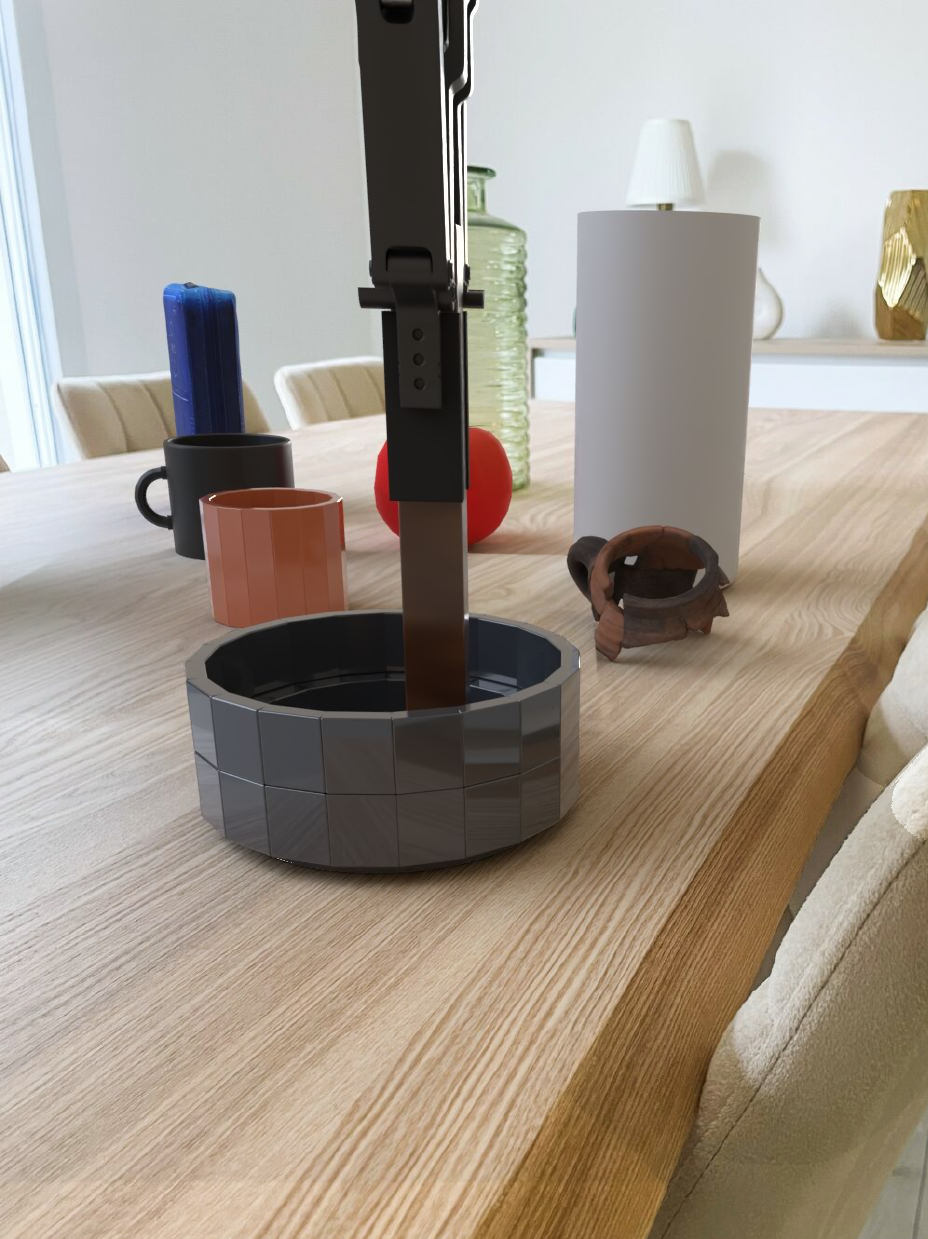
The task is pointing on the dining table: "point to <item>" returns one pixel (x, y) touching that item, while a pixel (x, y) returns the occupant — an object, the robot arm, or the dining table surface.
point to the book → (204, 359)
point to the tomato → (483, 496)
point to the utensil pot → (273, 554)
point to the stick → (437, 581)
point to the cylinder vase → (664, 373)
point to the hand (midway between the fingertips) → (431, 492)
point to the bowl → (381, 742)
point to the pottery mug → (648, 586)
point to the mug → (212, 478)
